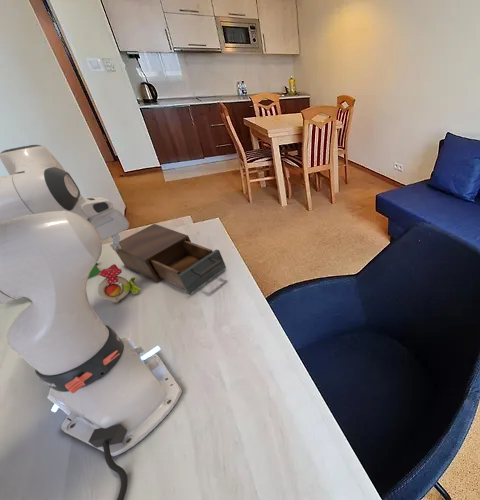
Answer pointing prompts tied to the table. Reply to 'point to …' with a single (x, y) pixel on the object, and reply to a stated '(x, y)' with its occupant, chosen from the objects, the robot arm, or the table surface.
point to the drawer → (188, 265)
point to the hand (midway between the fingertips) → (99, 258)
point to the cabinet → (148, 248)
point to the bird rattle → (115, 285)
